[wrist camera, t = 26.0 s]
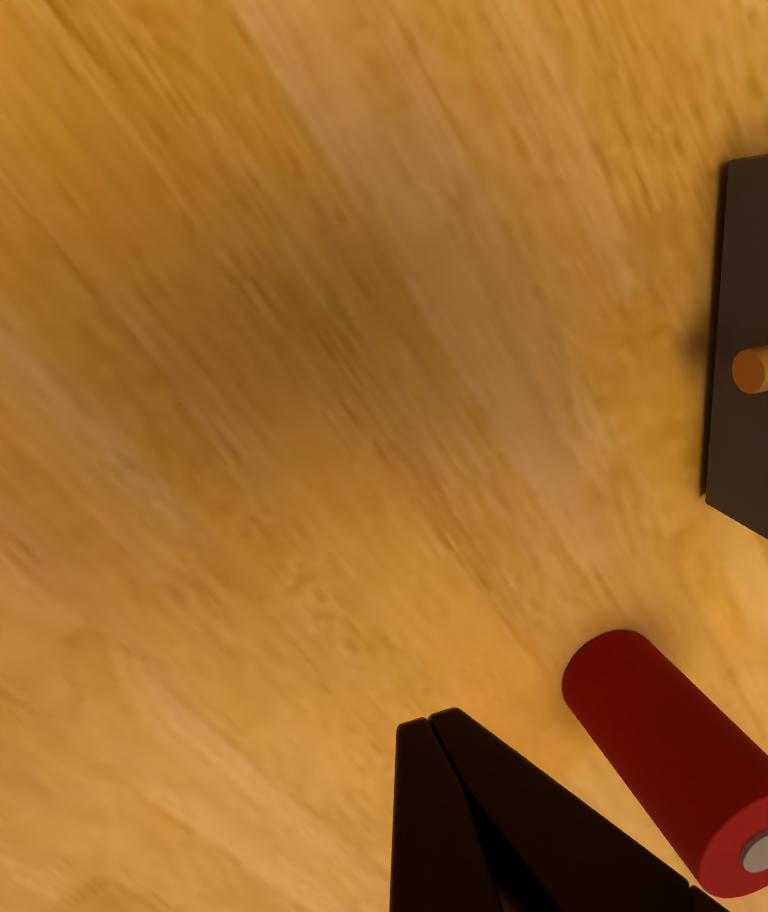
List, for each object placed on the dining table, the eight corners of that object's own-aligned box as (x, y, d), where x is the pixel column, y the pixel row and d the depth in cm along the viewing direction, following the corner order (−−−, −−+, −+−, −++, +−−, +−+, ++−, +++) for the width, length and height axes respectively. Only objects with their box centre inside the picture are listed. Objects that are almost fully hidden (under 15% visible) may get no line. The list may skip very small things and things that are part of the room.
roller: (549, 662, 26) (692, 848, 19) (642, 612, 27) (819, 774, 19) (576, 731, 28) (716, 926, 21) (662, 683, 29) (831, 857, 21)
